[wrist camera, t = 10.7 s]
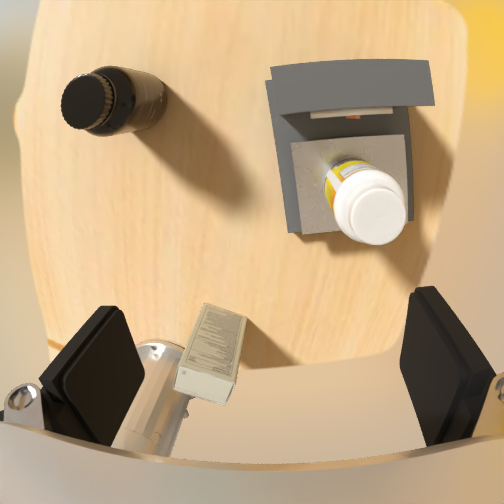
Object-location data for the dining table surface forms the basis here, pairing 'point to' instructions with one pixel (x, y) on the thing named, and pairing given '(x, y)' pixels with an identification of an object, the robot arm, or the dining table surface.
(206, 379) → the skincare box
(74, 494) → the robot arm
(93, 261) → the dining table surface
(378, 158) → the scale pan
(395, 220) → the supplement bottle
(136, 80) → the supplement bottle
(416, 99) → the scale base
